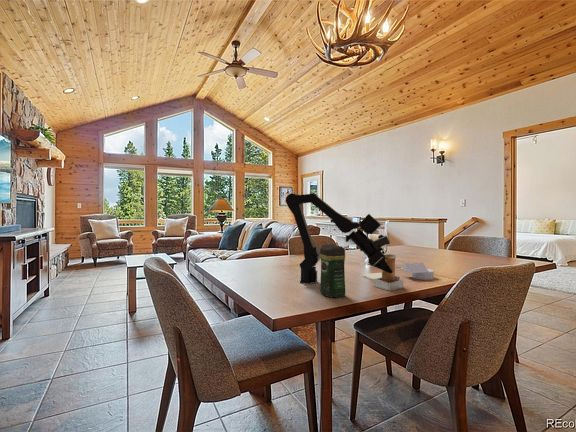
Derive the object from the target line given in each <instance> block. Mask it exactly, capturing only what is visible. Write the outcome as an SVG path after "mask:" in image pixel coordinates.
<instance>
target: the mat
mask: <svg viewBox="0 0 576 432" xmlns="http://www.w3.org/2000/svg"><path fill="white" fill-rule="evenodd" d="M360 276H361V277H363V278H366V279H368V280H370V281H373V282H374V279H376V278H381V277H382V272H374V273H366V274H365V273H364V274H360Z"/></svg>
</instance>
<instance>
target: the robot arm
mask: <svg viewBox="0 0 576 432" xmlns="http://www.w3.org/2000/svg"><path fill="white" fill-rule="evenodd" d="M285 203H286V206H287V207H288V209H289V211H290V212H291V214H292V215H293V217H294V221H295V223H296V226H297V230H298V232H299V235H300V238H301V241H302V244H303V256H304V257H303V258H304V260H302V261H301V262H300V263H299V267H300V281H299V283H301V284H302V283H303V284H304V283H305V284H316V282H317V281H318V270H317V266H316V265H317V264H318V262H319V261H321V258H320V246H319V245H315V243H314V241H313V239H312V235H311V232H310V229H309V227H308V226H309V225H308V223H307V221H306V217H305V213H304V205H303V204H310V203H311V204H312V205H313V206H314V207H316V208H317V209H319V210H320V211H321V212H322V213H324V215H326V216H327V217H328V218H329V219H330V220H331V221H332V222H333V223H334V225H335V226H336V227H337V229H338V230H339V231H340V232H341V233H344V234H346V235H345V243H348V242H349V241H352V242H353V244H355V245H356V247H358V248H359V251H360V252H362V253H363V254H364V255H366V258H367V259H368V264H369V265H370V266H371V267H374V268H376V269H379V270H381V271H382V270H383V271H386V272H388V273H390V274H391V273H392V272H393V271H392V270H391V268H390V267H389V266H388V264H387V263H386V261H385V255H384V254H385V250H384V248H383V246H387V245H390V244H391V241H390V238H389V237H388V235H387V234H386V235H383V234H378V237H377V238H376V239H374V240H373V238H369V236H368V235H369V234H370V235H372V234H374V233H375V232H376V231H377V230H378V229H380V227H381V226H382V224H381V223H380V222H379V221H378V220H377V219H376V218H374V217H373V216H372V215H371V214H370V213H368V214H366V216H365V217H364V218H363V219H362V221H360V222H358V221H353V220H352V219H350V218H348V217H346V216H345V215H343V214H342V213H339V212H338V211H336V209H334V208H333V207H332V206H331V205H329V204H328V203H326V202H325V201H324V199H322V198H320V196H319V195H318V194H316V193H312V192H311V193H306V194H298V193H292V192H291V193H289V194H288V195H287V196H286V197H285ZM359 227H360V228H359ZM356 229H357V230H356ZM355 230H356V231H355ZM351 231H352V232H351ZM350 232H351V233H350ZM347 233H349V234H347Z"/></svg>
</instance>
